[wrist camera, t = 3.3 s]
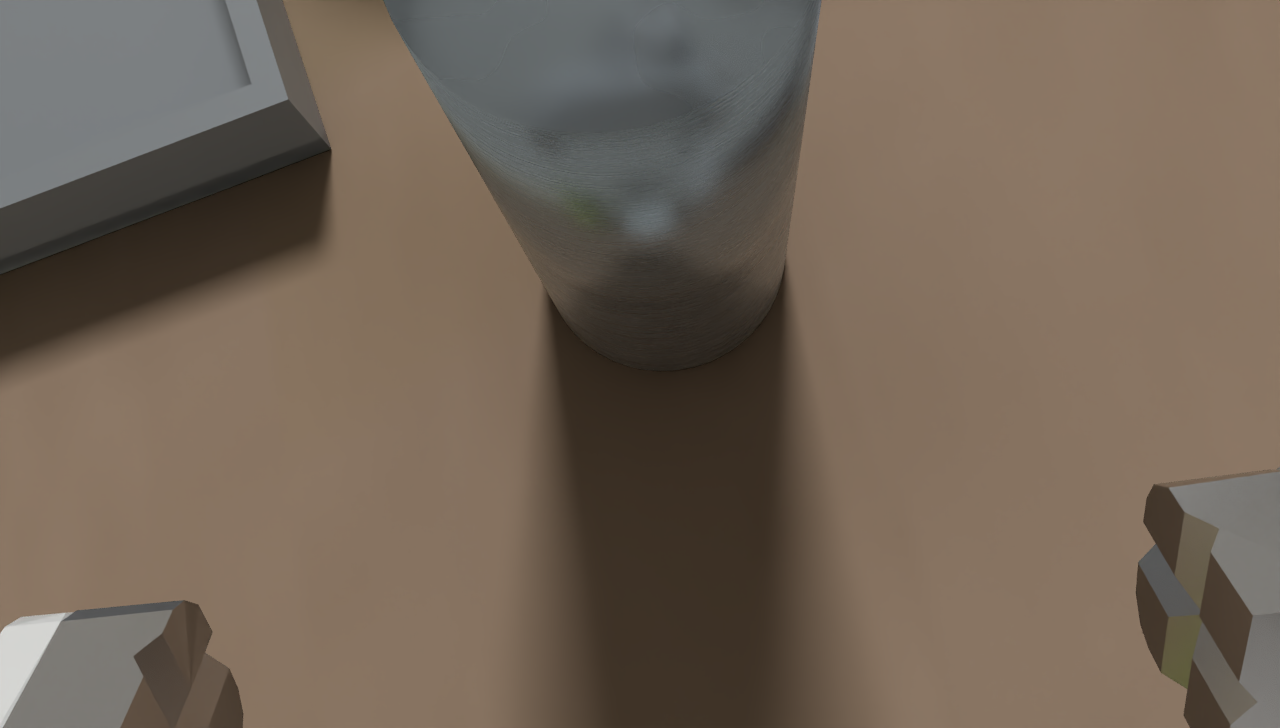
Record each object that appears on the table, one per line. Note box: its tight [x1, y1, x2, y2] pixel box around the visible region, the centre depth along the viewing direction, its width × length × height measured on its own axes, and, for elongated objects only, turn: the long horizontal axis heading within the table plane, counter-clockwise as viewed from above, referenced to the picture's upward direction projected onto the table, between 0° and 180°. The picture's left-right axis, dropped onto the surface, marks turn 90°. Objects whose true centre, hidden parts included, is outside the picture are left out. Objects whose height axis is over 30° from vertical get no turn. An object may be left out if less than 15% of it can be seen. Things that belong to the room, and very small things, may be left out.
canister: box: [383, 0, 821, 371], centre depth 18 cm, size 5×5×12 cm
